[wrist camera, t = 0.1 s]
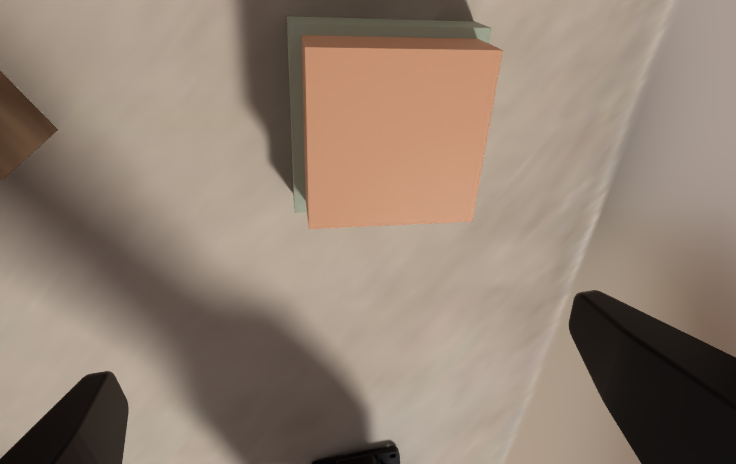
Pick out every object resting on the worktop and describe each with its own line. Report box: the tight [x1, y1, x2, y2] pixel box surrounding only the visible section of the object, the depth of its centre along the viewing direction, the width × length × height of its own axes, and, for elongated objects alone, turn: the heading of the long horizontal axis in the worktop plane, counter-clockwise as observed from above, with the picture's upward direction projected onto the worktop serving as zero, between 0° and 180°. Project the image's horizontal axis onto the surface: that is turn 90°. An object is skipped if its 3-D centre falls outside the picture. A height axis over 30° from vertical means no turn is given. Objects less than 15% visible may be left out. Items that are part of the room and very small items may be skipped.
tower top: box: [301, 35, 503, 229], centre depth 19 cm, size 7×7×2 cm
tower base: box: [287, 16, 491, 213], centre depth 22 cm, size 8×8×2 cm
